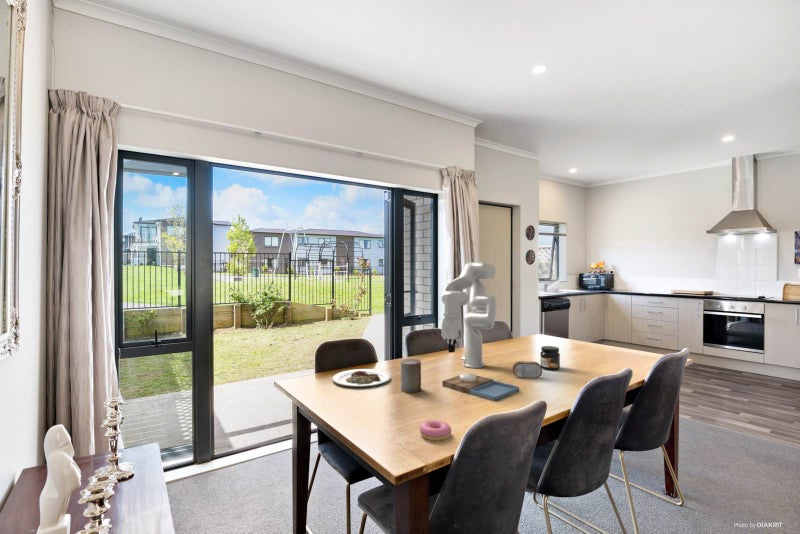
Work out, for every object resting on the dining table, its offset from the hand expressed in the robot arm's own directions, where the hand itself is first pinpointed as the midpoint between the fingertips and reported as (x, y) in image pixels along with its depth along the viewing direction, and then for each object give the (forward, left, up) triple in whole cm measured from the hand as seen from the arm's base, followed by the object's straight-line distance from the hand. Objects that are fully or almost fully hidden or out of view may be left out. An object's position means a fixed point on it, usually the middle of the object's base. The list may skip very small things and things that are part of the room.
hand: (451, 352), depth 199 cm
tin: (+24, +34, -15) cm, 44 cm away
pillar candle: (-5, -24, -15) cm, 29 cm away
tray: (+25, +1, -15) cm, 29 cm away
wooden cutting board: (+10, +1, -15) cm, 18 cm away
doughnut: (+36, -53, -15) cm, 66 cm away
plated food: (-34, -31, -16) cm, 49 cm away
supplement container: (+24, +60, -15) cm, 66 cm away
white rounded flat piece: (+10, +1, -11) cm, 15 cm away
